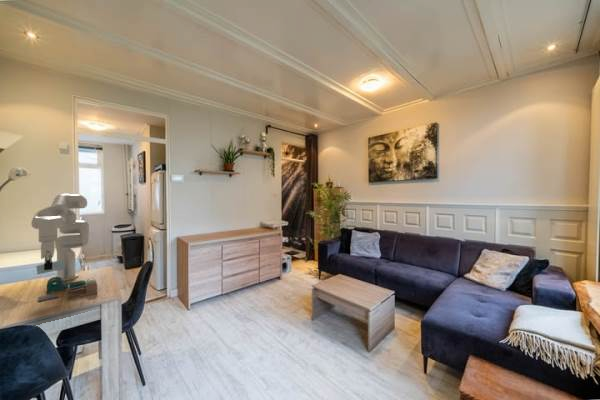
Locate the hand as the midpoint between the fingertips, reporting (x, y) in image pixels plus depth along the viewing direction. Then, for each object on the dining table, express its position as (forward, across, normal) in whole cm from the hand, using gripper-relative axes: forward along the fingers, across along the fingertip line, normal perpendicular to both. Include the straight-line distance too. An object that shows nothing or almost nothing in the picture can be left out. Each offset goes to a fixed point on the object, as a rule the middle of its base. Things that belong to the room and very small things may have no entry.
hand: (48, 268), depth 137 cm
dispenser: (+18, +7, +15) cm, 24 cm away
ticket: (+2, 0, +1) cm, 2 cm away
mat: (+18, 0, 0) cm, 18 cm away
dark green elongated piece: (+18, -14, +8) cm, 24 cm away
